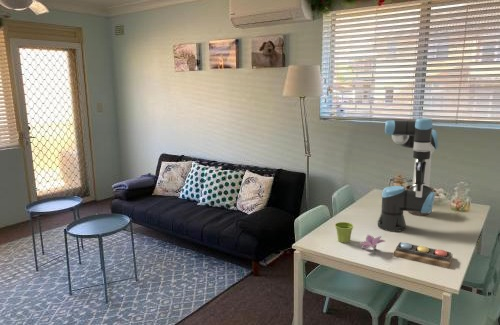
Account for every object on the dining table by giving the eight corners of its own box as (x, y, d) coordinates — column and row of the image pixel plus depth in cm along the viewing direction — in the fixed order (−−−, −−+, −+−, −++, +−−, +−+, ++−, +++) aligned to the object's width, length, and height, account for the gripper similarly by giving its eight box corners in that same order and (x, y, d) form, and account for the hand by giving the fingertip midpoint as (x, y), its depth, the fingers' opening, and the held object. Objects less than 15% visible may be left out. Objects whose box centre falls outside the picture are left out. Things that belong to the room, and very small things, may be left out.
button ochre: (416, 252, 174) (416, 249, 174) (418, 248, 178) (418, 245, 178) (427, 254, 171) (428, 251, 171) (429, 250, 175) (430, 247, 175)
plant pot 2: (406, 216, 229) (408, 191, 226) (402, 208, 245) (403, 184, 242) (435, 217, 226) (437, 192, 223) (428, 209, 241) (430, 185, 238)
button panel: (393, 255, 177) (393, 249, 176) (399, 246, 186) (399, 240, 186) (448, 268, 164) (449, 260, 163) (452, 257, 173) (452, 250, 173)
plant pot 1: (342, 245, 189) (343, 229, 187) (330, 239, 197) (331, 224, 196) (356, 242, 193) (357, 226, 192) (344, 236, 202) (344, 220, 200)
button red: (433, 255, 170) (434, 252, 169) (435, 251, 174) (435, 248, 173) (446, 258, 167) (446, 255, 167) (447, 254, 171) (447, 251, 171)
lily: (389, 253, 182) (384, 233, 185) (386, 253, 172) (380, 232, 175) (364, 257, 187) (360, 238, 190) (360, 257, 176) (355, 237, 179)
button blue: (399, 248, 178) (399, 245, 178) (401, 244, 182) (402, 241, 182) (410, 250, 175) (410, 247, 175) (412, 247, 179) (412, 244, 179)
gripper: (427, 153, 174) (424, 201, 179) (432, 148, 185) (429, 194, 190) (410, 151, 179) (407, 199, 183) (416, 147, 189) (413, 192, 194)
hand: (418, 196), depth 186 cm, fingers closed
